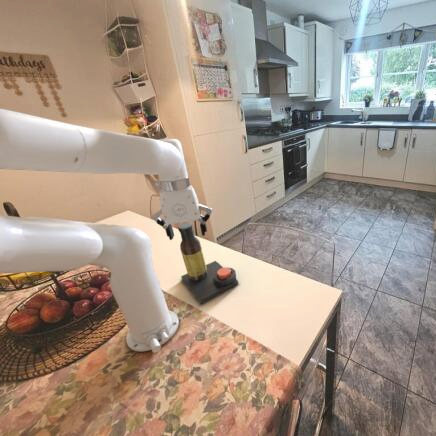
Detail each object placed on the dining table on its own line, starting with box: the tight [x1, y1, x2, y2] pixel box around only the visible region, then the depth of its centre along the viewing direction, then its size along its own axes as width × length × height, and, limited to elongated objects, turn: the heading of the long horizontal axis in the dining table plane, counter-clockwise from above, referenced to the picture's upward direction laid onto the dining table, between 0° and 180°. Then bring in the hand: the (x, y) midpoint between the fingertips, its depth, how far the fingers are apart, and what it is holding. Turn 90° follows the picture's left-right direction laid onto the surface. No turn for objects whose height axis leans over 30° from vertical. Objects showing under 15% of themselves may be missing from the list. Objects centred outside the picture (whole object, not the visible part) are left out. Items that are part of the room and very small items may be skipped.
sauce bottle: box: [177, 222, 207, 281], centre depth 80 cm, size 6×6×20 cm
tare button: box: [217, 267, 231, 279], centre depth 82 cm, size 4×4×2 cm
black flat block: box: [180, 260, 239, 305], centre depth 83 cm, size 16×14×4 cm
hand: (188, 235), depth 77 cm, fingers open, 9 cm apart
